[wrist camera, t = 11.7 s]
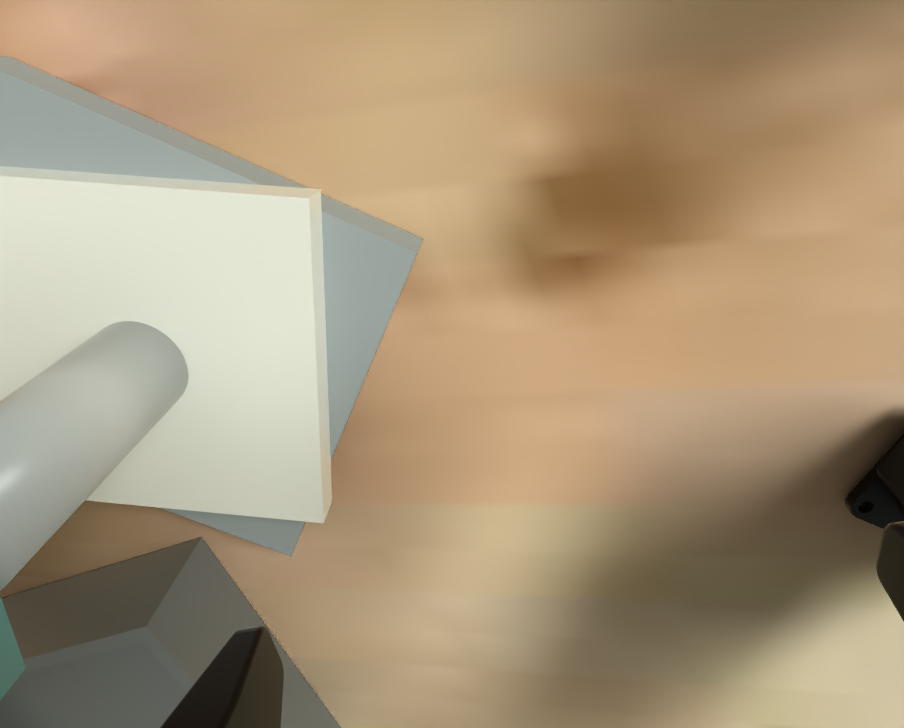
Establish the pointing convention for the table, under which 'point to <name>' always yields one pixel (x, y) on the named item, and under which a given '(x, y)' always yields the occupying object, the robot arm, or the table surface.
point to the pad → (183, 157)
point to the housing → (133, 644)
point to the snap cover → (156, 354)
